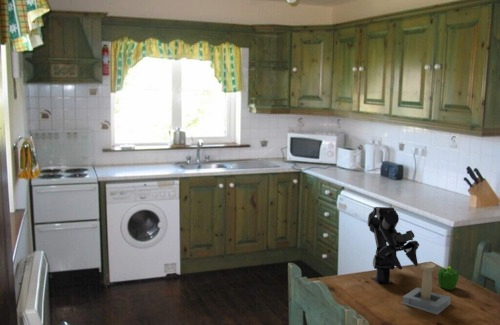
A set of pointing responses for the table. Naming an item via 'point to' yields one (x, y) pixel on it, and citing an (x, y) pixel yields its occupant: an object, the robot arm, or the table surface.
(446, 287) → the bell pepper
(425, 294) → the handle
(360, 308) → the table surface
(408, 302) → the block
